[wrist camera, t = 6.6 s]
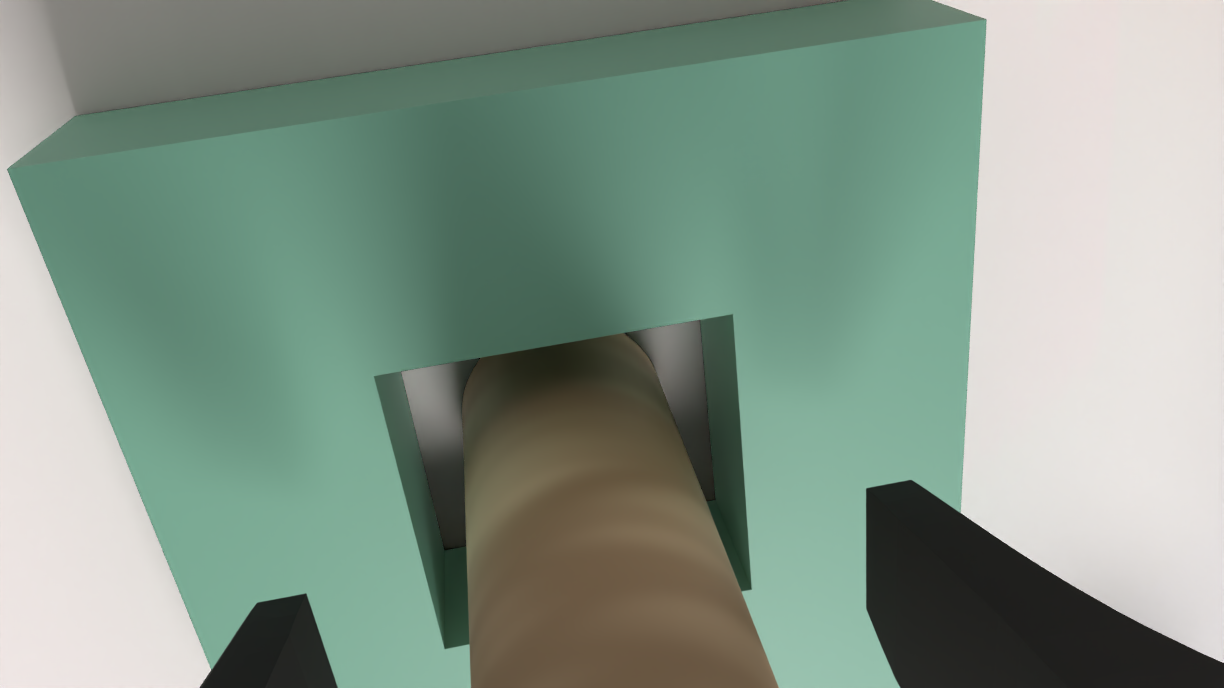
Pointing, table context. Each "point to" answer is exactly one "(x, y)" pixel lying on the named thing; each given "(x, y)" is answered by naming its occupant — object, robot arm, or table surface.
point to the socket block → (531, 303)
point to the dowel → (593, 531)
